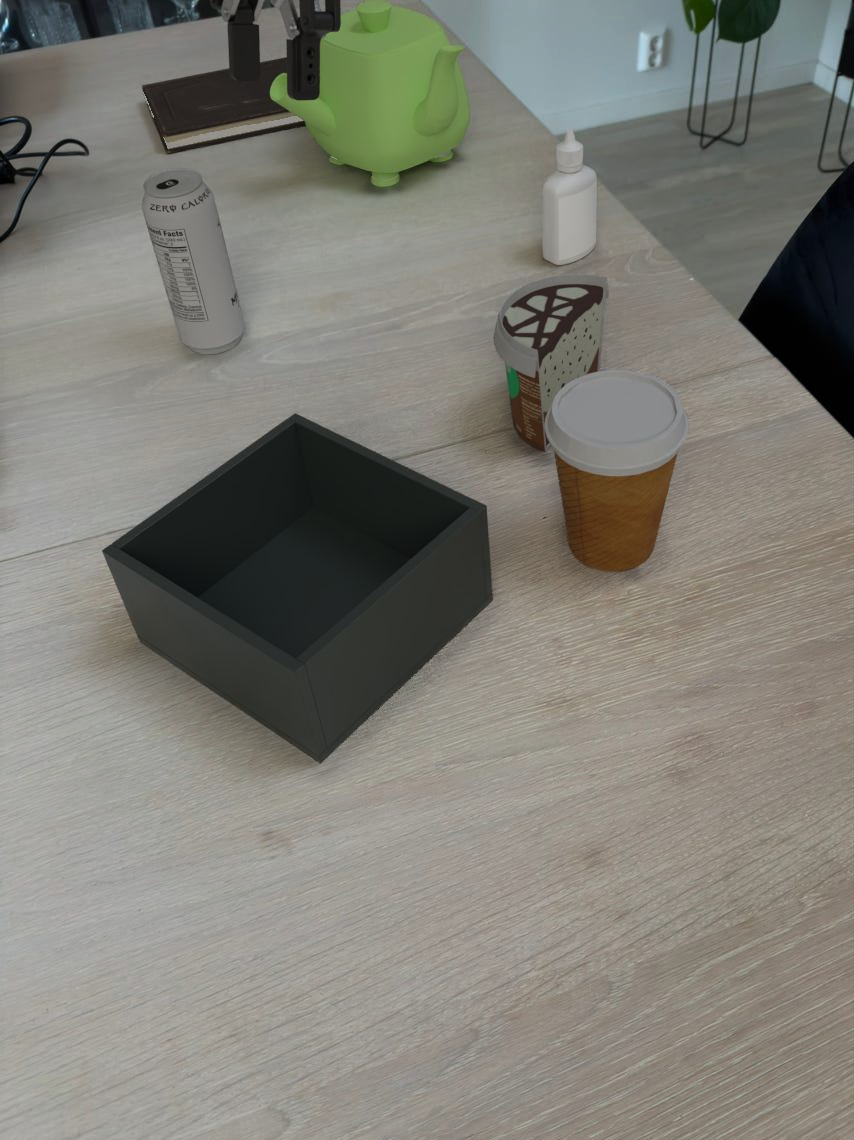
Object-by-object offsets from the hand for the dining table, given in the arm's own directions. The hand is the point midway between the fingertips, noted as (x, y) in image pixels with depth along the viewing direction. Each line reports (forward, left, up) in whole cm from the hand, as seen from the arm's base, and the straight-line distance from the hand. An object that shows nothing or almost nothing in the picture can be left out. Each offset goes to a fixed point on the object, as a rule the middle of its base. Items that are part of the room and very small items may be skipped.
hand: (273, 89), depth 82 cm
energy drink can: (-5, +11, -24) cm, 27 cm away
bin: (-16, -26, -24) cm, 39 cm away
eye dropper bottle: (+29, +1, -24) cm, 38 cm away
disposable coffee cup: (+5, -33, -24) cm, 41 cm away
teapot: (+25, +29, -24) cm, 46 cm away
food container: (+11, -17, -24) cm, 31 cm away
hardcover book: (+22, +54, -24) cm, 63 cm away
